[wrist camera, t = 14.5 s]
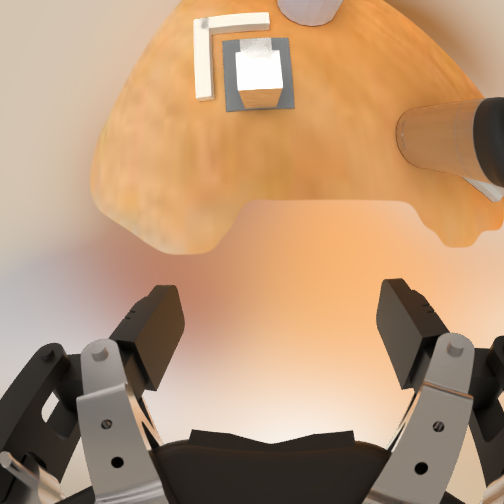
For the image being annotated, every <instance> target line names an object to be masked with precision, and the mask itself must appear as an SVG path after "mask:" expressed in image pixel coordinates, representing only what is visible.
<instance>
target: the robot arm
mask: <svg viewBox="0 0 504 504" xmlns="http://www.w3.org/2000/svg"><path fill="white" fill-rule="evenodd" d="M396 138H397V143H398V147H399V149H400V151H401V153H402V155H403V156H404V158H405V159H406V160H407V161H408V162H409V163H411V164H412V165H414V166H417V167H420V168H425V169H430V170H435V171H439V172H444V173H449V174H453V175H457V176H462V177H466V178H470V179H474V180H477V181H481V182H485V183H489V184H492V185H496V186H499V187H502V188H504V98H503V97H502V98H501V97H496V98H486V99H476V100H468V101H460V102H453V103H446V104H439V105H433V106H427V107H421V108H416V109H411V110H408V111H407V112H405V113H404V114H403V115H402V116H401V117H400V119H399V121H398V124H397V128H396ZM376 321H377V328H378V330H379V333H380V335H381V338H382V340H383V342H384V345H385V347H386V350H387V352H388V355H389V357H390V360H391V362H392V365H393V367H394V370H395V373H396V375H397V378H398V381H399V383H400V386H401V389H402V390H403V389H408V388H414V391H415V393H414V394H413V396H412V399H411V401H410V403H409V405H408V407H407V410H406V412H405V414H404V416H403V418H402V420H401V422H400V424H399V426H398V428H397V430H396V432H395V434H394V436H393V437H392V439H391V441H390V442H389V444H388V446H387V448H386V449H384V448H382V447H380V446H377V445H374V444H371V443H367V442H361V441H355V440H354V433H353V431H345V432H335V433H324V434H313V435H309V436H305V437H301V438H297V439H293V440H289V441H284V442H280V443H274V444H268V443H263V442H259V441H255V440H251V439H248V438H244V437H240V436H237V435H233V434H230V433H219V432H208V431H201V430H193V429H192V431H191V434H190V438H189V440H188V439H187V440H180V441H175V442H171V443H167V444H165V445H164V443H163V442H162V440H161V438H160V436H159V434H158V432H157V430H156V427H155V425H154V423H153V420H152V418H151V415H150V413H149V411H148V408H147V405H146V403H145V400H144V398H143V396H142V394H143V392H144V390H145V389H146V390H151V391H157V388H158V386H159V384H160V382H161V380H162V378H163V375H164V373H165V371H166V369H167V366H168V364H169V362H170V360H171V358H172V355H173V353H174V351H175V349H176V347H177V345H178V342H179V340H180V338H181V336H182V334H183V331H184V325H185V324H184V323H185V322H184V315H183V311H182V307H181V303H180V299H179V294H178V290H177V288H176V286H174V285H156V286H155V287H154V288H153V290H152V291H151V292H150V294H149V295H148V296H147V297H144V298H143V299H141V300H140V301H138V302H137V303H135V305H134V306H133V307H132V308H131V310H130V312H129V313H128V314H127V315H126V316H125V319H123V320H122V321H121V323H120V324H119V325H118V327H117V328H116V329H115V331H114V332H113V333H112V335H111V336H110V337H109V339H100V340H97V341H94V342H92V343H90V344H88V345H87V346H86V347H85V348H84V349H83V351H82V353H81V354H72V355H67V354H66V352H65V350H64V349H63V347H62V345H60V344H58V343H50V344H47V345H45V346H43V347H41V348H40V349H39V350H38V351H37V352H36V353H35V354H34V355H33V357H32V358H31V359H30V360H29V362H28V363H27V364H26V366H25V367H24V368H23V369H22V371H21V372H20V373H19V375H18V376H17V377H16V379H15V380H14V381H13V383H12V384H11V385H10V387H9V388H8V390H7V391H6V392H5V394H4V395H3V397H2V398H1V400H0V504H465V503H464V502H462V501H460V500H459V499H457V498H456V497H454V496H453V495H451V494H450V493H448V492H446V491H445V490H446V488H447V485H448V483H449V480H450V478H451V476H452V473H453V470H454V467H455V465H456V462H457V459H458V456H459V453H460V450H461V447H462V444H463V440H464V437H465V434H466V430H467V426H468V424H469V427H470V430H471V433H472V436H473V439H474V442H475V446H476V449H477V452H478V455H479V459H480V463H481V466H482V470H483V474H484V478H485V483H486V488H487V489H486V491H485V493H484V496H483V500H482V501H481V502H480V503H479V504H504V411H503V409H502V407H501V405H500V402H499V400H498V397H499V396H500V394H501V393H502V392H503V391H504V336H499V337H497V338H496V339H495V340H494V342H493V344H492V346H491V348H490V349H485V348H474V346H473V344H472V342H471V341H470V340H469V339H468V338H466V337H465V336H463V335H461V334H458V333H450V332H449V330H448V329H447V328H446V326H445V325H444V324H443V322H442V321H441V319H440V318H439V316H438V315H437V314H436V312H434V309H433V308H432V307H431V306H430V304H429V303H428V301H427V300H426V299H425V297H424V296H423V295H421V294H420V293H418V292H417V291H415V290H411V289H410V288H409V286H408V285H407V284H406V282H405V281H404V280H403V279H402V278H398V279H385V280H383V282H382V286H381V292H380V298H379V304H378V309H377V315H376ZM52 391H53V393H54V394H55V396H56V397H57V398H58V400H59V402H58V403H57V405H56V407H55V409H54V410H53V412H52V414H51V415H50V417H49V419H48V421H47V422H46V423H45V422H44V420H43V418H42V414H41V412H42V408H43V406H44V404H45V402H46V401H47V399H48V397H49V396H50V394H51V393H52ZM80 437H81V438H82V443H83V449H84V454H85V458H86V463H87V467H88V471H89V474H90V479H91V483H92V486H90V487H88V488H86V489H84V490H82V491H80V492H78V493H76V494H74V495H72V496H70V497H67V498H65V496H64V494H63V493H61V487H60V483H61V480H62V477H63V475H64V473H65V470H66V468H67V465H68V463H69V461H70V459H71V457H72V454H73V452H74V450H75V448H76V445H77V443H78V441H79V439H80Z"/></svg>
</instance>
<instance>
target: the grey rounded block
mask: <svg viewBox="0 0 504 504" xmlns="http://www.w3.org/2000/svg"><path fill="white" fill-rule="evenodd" d="M461 177H462V176H461ZM463 178H464V179H465V180H467V181H468V182H469V183H470V184H472V185H473V186H474V187H475V188H477V189H478V190H479V191H480V192H482V193H483V194H484V195H485V196H486V197H488V198H489V199H490V200H491V201H492V202H497V201H500V199H501V198H502V196H503V195H504V188H502V187H499V186H496V185H492V184H489V183H485V182H481V181H477V180H474V179H470V178H466V177H463Z"/></svg>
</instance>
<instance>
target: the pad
mask: <svg viewBox="0 0 504 504" xmlns="http://www.w3.org/2000/svg"><path fill="white" fill-rule="evenodd" d="M222 43H223V62H224V81H225V98H226V112H232V111H244V110H262V109H294V94H293V81H292V70H291V59H290V49H289V40H288V38H271V45H272V50H279V53H280V63H281V73H282V84H283V89H282V92H281V95H280V97H279V100H278V103H277V106H276V108H258V109H245V106H244V104H243V101H242V99H241V96H240V94H239V91H238V81H237V67H236V53H237V52H241V50H240V40H229V41H222Z"/></svg>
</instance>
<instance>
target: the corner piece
mask: <svg viewBox="0 0 504 504" xmlns="http://www.w3.org/2000/svg"><path fill="white" fill-rule="evenodd" d="M269 25H270V22H269V12H261V13H243V14H231V15H222V16H214V17H207V18H200V19H195V20H194V62H195V87H196V98H197V99H198V100H199V101H206V100H214V99H215V96H214V77H213V56H212V35H215V34H223V33H233V32H245V31H264V30H269Z"/></svg>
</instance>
